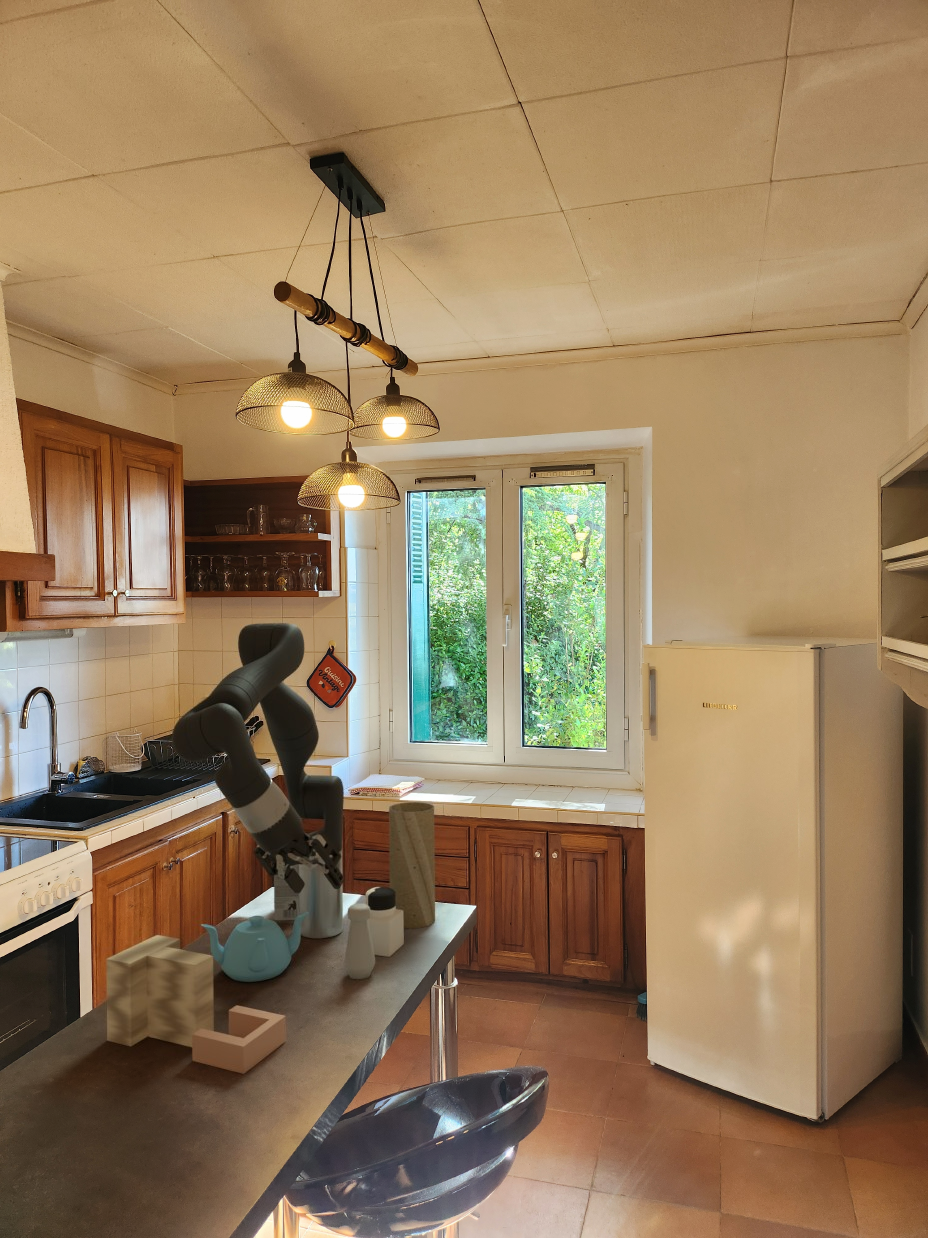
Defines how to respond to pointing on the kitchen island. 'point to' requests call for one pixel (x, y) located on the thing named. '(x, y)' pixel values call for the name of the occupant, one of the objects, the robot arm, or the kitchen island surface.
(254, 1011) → the frame
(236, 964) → the teapot
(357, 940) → the salt shaker
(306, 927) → the robot arm
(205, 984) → the t block
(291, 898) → the coffee box
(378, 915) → the medicine bottle
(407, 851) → the tube
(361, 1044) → the kitchen island surface
